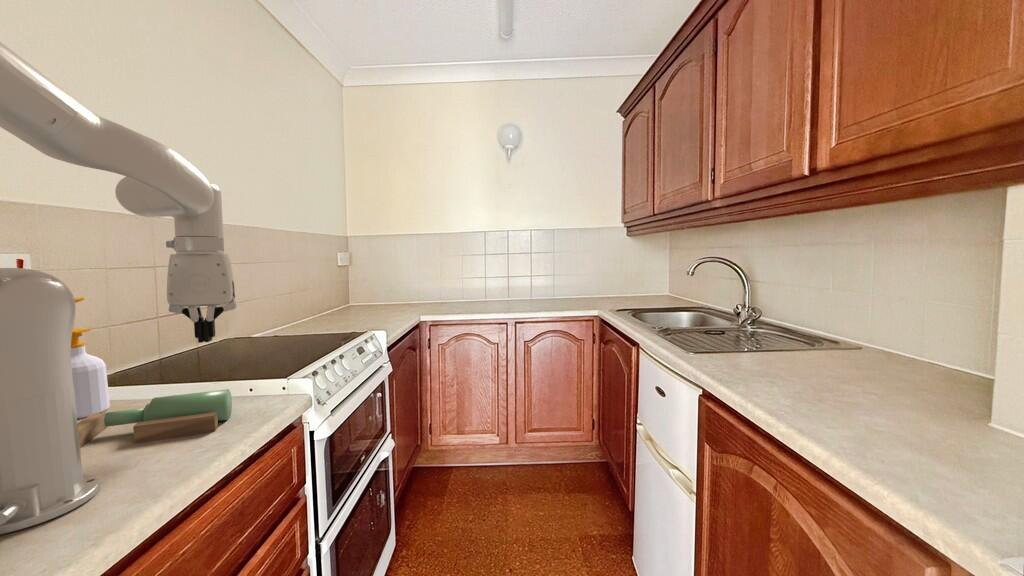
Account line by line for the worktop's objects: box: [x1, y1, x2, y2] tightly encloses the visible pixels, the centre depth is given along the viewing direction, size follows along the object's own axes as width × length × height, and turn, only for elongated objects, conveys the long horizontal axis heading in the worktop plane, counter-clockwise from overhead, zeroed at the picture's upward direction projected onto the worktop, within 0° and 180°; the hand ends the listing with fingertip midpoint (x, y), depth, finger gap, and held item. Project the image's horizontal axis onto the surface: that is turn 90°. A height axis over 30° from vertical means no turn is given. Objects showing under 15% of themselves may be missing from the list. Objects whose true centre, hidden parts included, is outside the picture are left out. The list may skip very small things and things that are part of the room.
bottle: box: [104, 389, 233, 428], centre depth 82 cm, size 6×6×19 cm
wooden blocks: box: [77, 411, 219, 449], centre depth 80 cm, size 12×22×3 cm, turn 113°
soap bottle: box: [71, 297, 111, 420], centre depth 88 cm, size 9×9×25 cm
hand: (205, 341), depth 82 cm, fingers closed
